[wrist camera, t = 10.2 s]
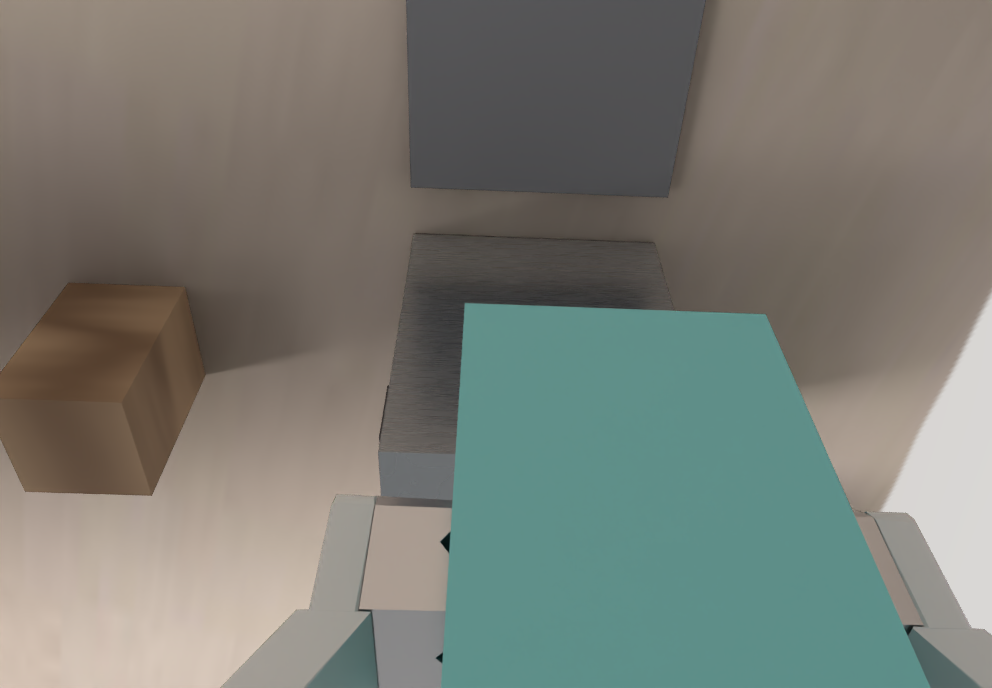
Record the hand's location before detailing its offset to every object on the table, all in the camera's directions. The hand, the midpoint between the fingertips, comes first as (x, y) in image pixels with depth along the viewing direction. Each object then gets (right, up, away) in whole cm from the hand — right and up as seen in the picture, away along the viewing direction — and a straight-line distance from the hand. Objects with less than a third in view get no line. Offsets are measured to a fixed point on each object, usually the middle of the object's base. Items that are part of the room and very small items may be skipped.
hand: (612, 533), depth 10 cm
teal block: (0, +1, +2) cm, 2 cm away
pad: (0, +10, +13) cm, 17 cm away
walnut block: (-14, +3, +19) cm, 24 cm away
